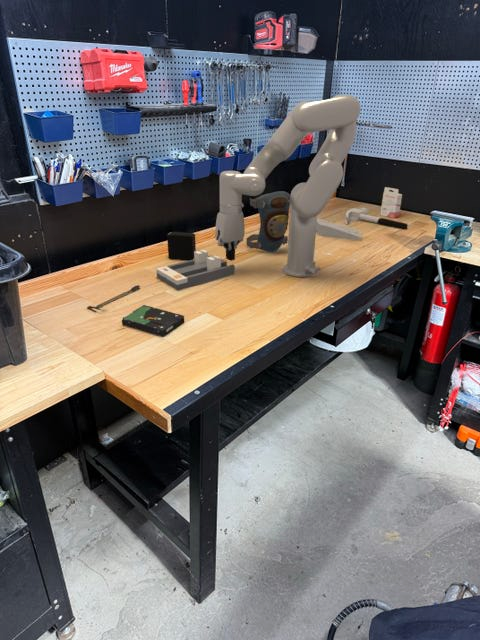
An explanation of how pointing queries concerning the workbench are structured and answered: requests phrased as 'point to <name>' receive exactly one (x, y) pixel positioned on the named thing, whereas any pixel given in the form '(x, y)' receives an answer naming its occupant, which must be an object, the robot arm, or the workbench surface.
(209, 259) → the tab near
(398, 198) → the ink cartridge box
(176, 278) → the grey slotted tray
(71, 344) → the workbench surface
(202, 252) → the tab far
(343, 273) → the workbench surface
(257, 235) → the knee pad
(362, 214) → the claw hammer
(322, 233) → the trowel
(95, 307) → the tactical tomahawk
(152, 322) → the disk drive
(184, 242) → the electronic device
